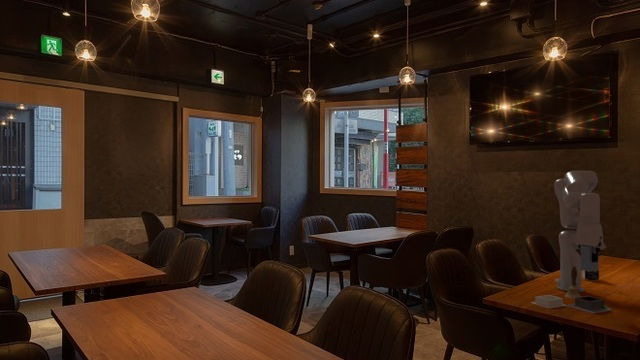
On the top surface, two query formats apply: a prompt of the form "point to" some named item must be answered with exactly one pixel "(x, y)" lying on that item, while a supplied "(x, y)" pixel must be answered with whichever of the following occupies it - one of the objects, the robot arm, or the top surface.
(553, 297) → the box
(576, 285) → the robot arm
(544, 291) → the top surface
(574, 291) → the hand bell
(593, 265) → the plug
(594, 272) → the medicine bottle
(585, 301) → the port
